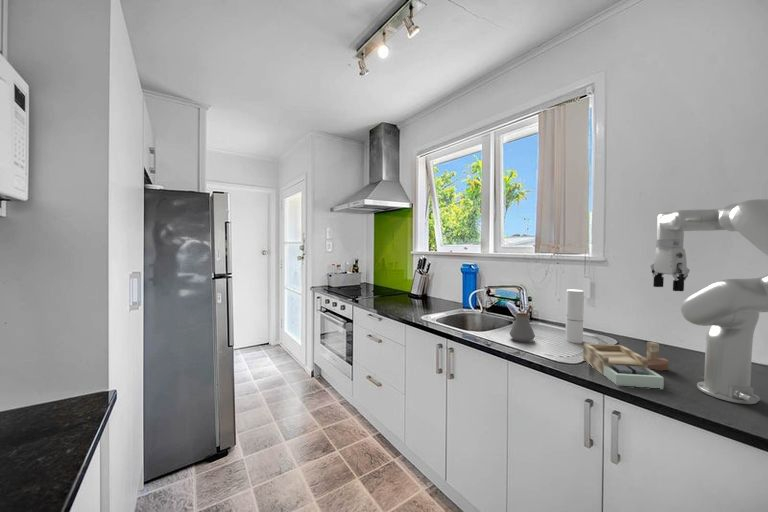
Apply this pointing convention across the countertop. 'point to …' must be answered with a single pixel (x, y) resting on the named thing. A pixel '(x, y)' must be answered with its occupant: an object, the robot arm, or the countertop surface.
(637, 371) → the blue-grey cube
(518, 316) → the coffee pot
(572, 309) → the cylindrical container
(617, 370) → the blue-grey cube
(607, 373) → the tray
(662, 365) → the wooden t-shaped piece
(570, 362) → the countertop surface
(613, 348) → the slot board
